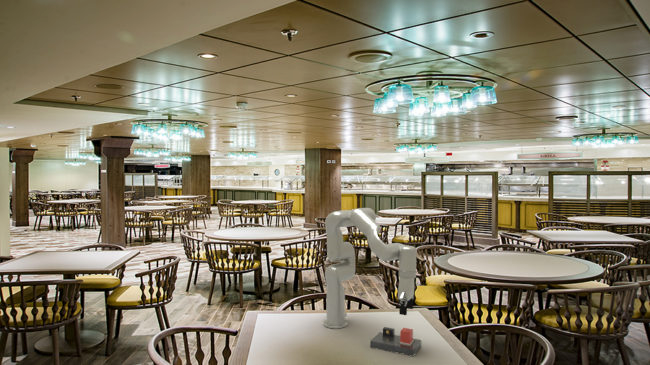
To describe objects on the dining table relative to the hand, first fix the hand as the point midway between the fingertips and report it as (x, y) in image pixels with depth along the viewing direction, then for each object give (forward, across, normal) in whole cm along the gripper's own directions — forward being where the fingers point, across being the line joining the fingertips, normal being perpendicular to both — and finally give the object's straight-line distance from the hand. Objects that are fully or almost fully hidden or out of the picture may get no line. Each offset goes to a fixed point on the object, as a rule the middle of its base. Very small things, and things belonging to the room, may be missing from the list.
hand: (406, 311), depth 191 cm
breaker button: (+16, 0, +1) cm, 16 cm away
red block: (+13, 0, 0) cm, 13 cm away
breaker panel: (+17, 0, -4) cm, 18 cm away
